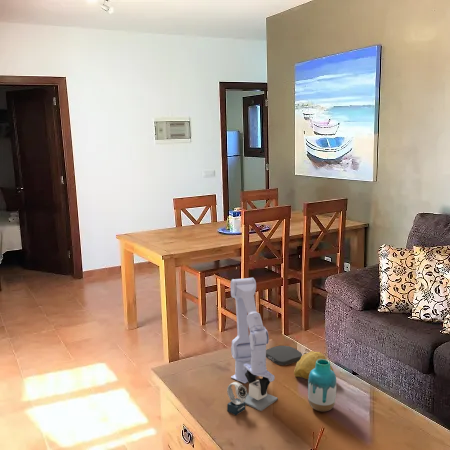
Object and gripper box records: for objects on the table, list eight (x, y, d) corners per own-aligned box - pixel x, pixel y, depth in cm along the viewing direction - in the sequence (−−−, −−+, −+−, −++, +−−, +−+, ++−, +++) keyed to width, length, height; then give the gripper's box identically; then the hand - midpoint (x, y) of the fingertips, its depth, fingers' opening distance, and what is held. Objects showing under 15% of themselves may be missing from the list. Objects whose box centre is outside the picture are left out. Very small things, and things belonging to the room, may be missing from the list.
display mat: (255, 390, 204) (255, 388, 203) (277, 399, 197) (277, 397, 196) (238, 401, 195) (238, 399, 195) (261, 411, 188) (261, 409, 188)
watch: (239, 417, 184) (240, 390, 182) (223, 409, 190) (223, 382, 188) (249, 411, 188) (249, 384, 186) (233, 403, 194) (233, 377, 192)
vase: (337, 403, 193) (338, 357, 190) (333, 418, 184) (335, 370, 180) (309, 399, 197) (311, 354, 193) (305, 413, 187) (306, 365, 184)
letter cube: (248, 395, 196) (249, 383, 195) (257, 391, 199) (257, 379, 198) (258, 400, 192) (258, 388, 191) (266, 395, 195) (267, 383, 194)
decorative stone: (303, 386, 202) (326, 357, 204) (283, 366, 215) (305, 339, 216) (320, 398, 209) (342, 370, 210) (299, 379, 222) (320, 352, 223)
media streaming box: (305, 360, 232) (305, 354, 231) (280, 367, 224) (281, 361, 224) (285, 348, 244) (285, 342, 244) (261, 355, 237) (261, 349, 236)
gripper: (279, 362, 191) (279, 394, 193) (251, 350, 201) (251, 381, 203) (267, 368, 186) (267, 401, 188) (239, 356, 196) (239, 388, 198)
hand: (258, 391), depth 195 cm, fingers closed on letter cube, 5 cm apart
